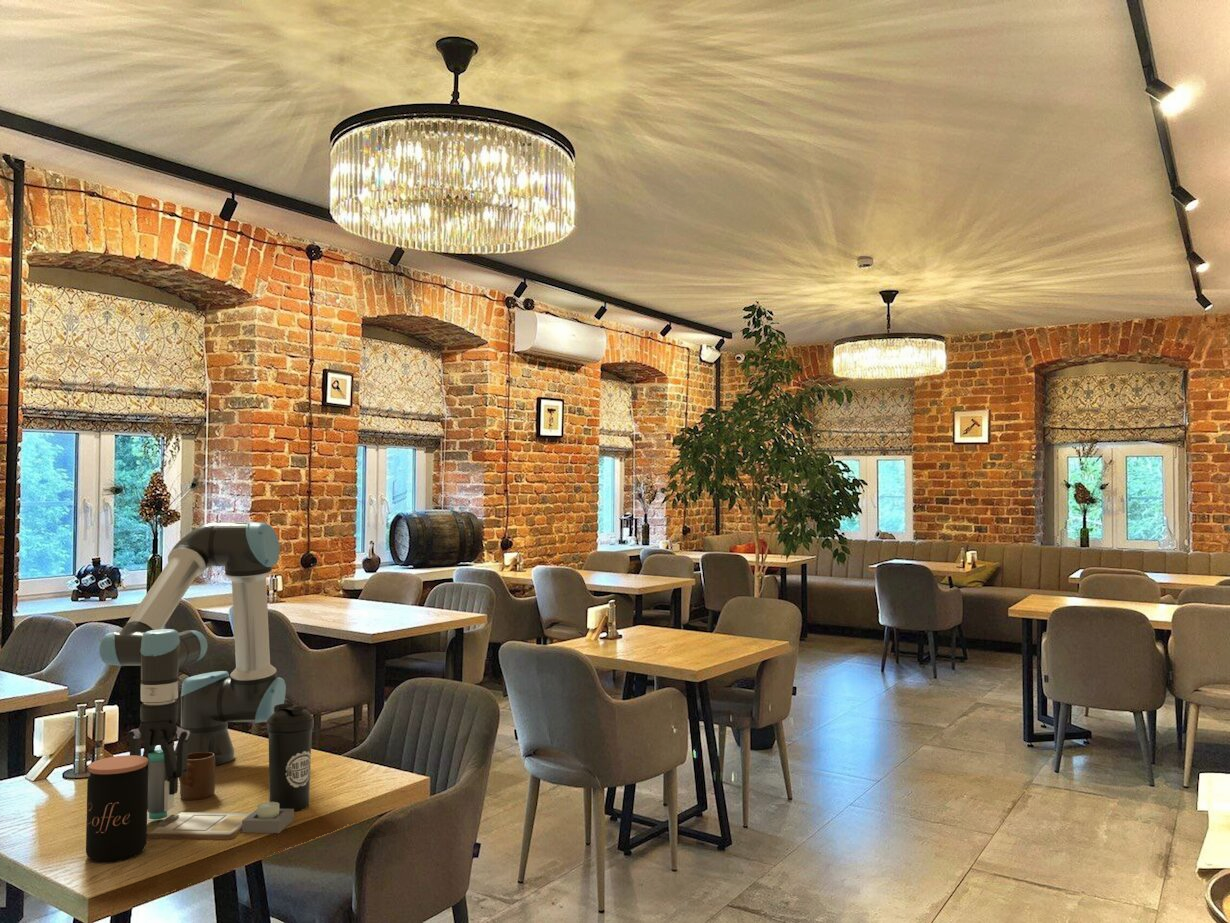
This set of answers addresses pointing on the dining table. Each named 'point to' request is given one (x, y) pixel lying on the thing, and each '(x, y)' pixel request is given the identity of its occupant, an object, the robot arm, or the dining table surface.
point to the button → (268, 810)
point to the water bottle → (290, 756)
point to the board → (199, 826)
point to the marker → (156, 784)
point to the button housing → (267, 822)
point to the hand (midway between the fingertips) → (158, 808)
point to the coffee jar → (116, 808)
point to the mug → (198, 776)
